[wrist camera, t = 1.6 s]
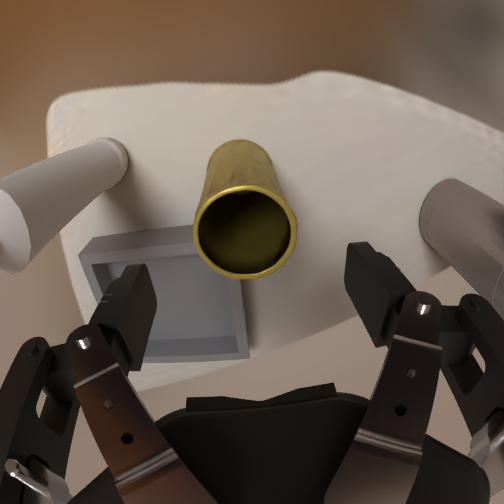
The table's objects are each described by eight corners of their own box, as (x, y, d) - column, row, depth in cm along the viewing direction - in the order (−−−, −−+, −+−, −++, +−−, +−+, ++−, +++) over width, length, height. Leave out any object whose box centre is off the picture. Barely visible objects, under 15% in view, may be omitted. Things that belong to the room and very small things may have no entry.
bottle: (89, 188, 26) (-86, 370, 4) (82, 140, 24) (-137, 274, 2) (133, 182, 26) (-42, 400, 5) (127, 131, 24) (-119, 275, 2)
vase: (248, 212, 29) (260, 304, 16) (195, 180, 27) (162, 253, 14) (284, 162, 27) (330, 219, 14) (230, 126, 25) (225, 149, 12)
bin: (234, 220, 29) (234, 237, 26) (248, 335, 37) (249, 358, 33) (93, 237, 29) (78, 255, 25) (133, 341, 37) (126, 362, 33)
